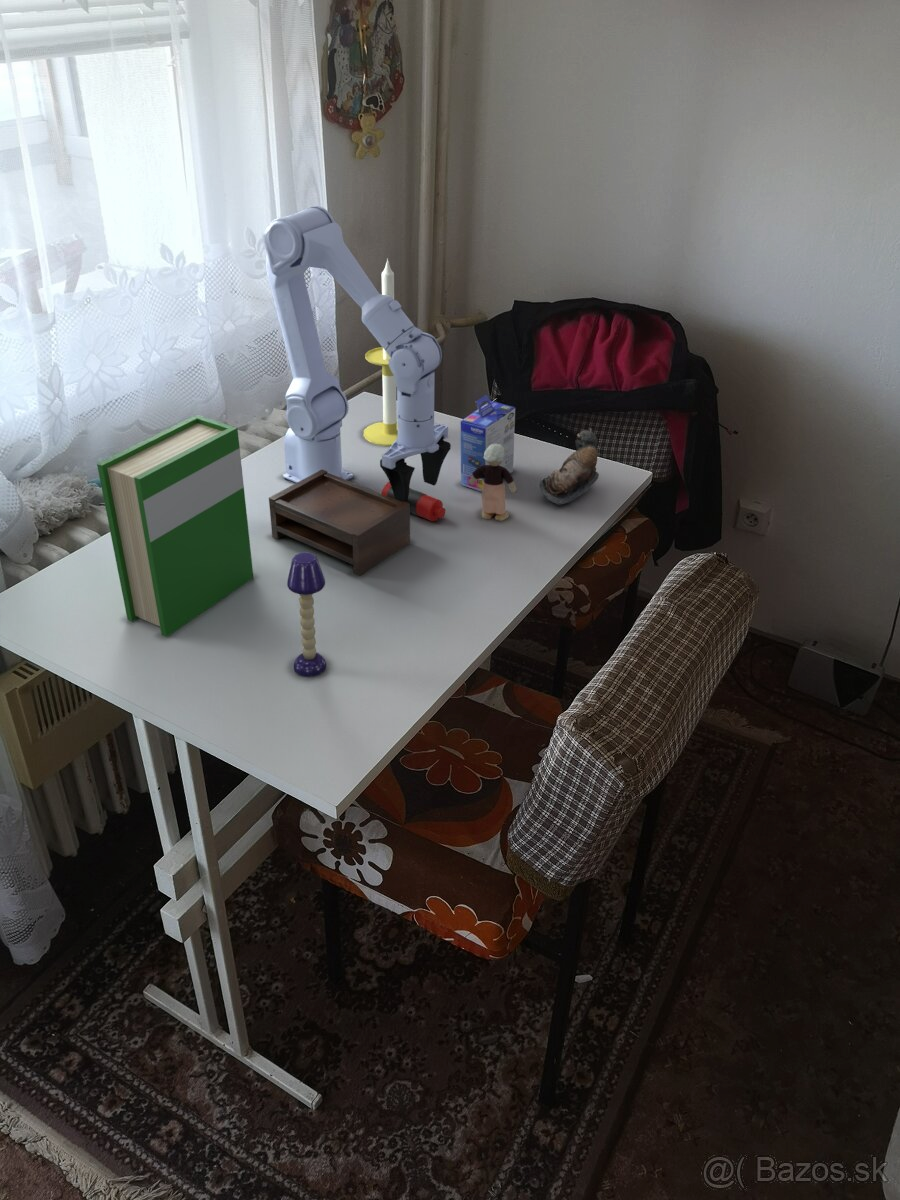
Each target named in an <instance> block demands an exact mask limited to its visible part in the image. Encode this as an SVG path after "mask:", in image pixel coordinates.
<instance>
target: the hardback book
mask: <svg viewBox="0 0 900 1200" xmlns="http://www.w3.org/2000/svg"><path fill="white" fill-rule="evenodd" d="M96 466H97V471H98V476H99V477H98V478H99V482H100V486H101V492H102V496H103V497H102V498H103V502H104V507H105V513H106V517H107V522H108V528H109V532H110V538H111V542H112V547H113V553H114V557H115V564H116V567H117V573H118V579H119V583H120V588H121V593H122V599H123V604H124V608H125V615H126V619H127V620H128V621H130V622H132V623H133V622H134V621H136V620H137V619H142V620H145V621H147V622H149V623H151V624H153V625H155V626H158V627H159V628H160V634H161V636H162V637H165V638H168V637H169V636H171V635H172V634H173V633H175V632H177V631H178V630H180V629H181V628H183V627H184V626H186V625H187V624H189V622H191V621H192V620H194V619H196V618H197V617H199V616H200V615H201V614H203V613H204V612H205V611H207V610H208V609H210V608H211V607H213V606H215V605H216V604H217V603H219V602H221V601H222V600H223V599H225V598H226V597H228V596H229V595H230V594H232V593H233V592H234V591H236V590H238V589H239V588H240V587H242V586H243V585H245V584H247V583H248V582H249V581H251V580H252V579H254V570H253V560H252V559H253V558H252V550H251V541H250V533H249V522H248V513H247V503H246V495H245V494H246V493H245V485H244V476H243V475H244V474H243V467H242V456H241V448H240V437H239V429H238V427H236V426H233V425H230V424H227V423H224V422H221V421H219V420H218V421H217V420H214V419H211V418H208V417H206V416H202V415H199V414H195V415H193V416H190V417H189V418H187V419H185V420H183V421H180V422H179V423H176V424H174V425H173V426H170V427H168V428H166V429H164V430H162V431H160V432H158V433H156V434H154V435H151V436H149V437H148V438H146V439H144V440H142V441H140V442H138V443H136V444H134V445H132V446H130V447H128V448H126V449H124V450H122V451H119V452H118V453H116V454H114V455H111V456H110V457H108V458H105V459H103V460H101V461H99V462H97V463H96Z"/></svg>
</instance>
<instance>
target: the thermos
mask: <svg viewBox="0 0 900 1200" xmlns="http://www.w3.org/2000/svg"><path fill="white" fill-rule="evenodd" d="M380 493H381V494H383V495H386V496H388V497H391V498H393V499H395V497H394V493H393V490H392V487H391V484H390V482H389V481H388V482H386V483H385V484H384V486H383V487H382V490H381V492H380ZM406 503H409V504H410V514H411V515H414V516H417V517H420V518H423V519H426V520H428V521H430V522H436V521H437V520H438V519H443V518H444V517H445V515H446V511H447V509H446V508H445V507H444V503H443V501H442V500H441V499H439V498H436V497H433V496H431V495H428V494H427V493H423V492H421V491H418V490H416V489H413V488H411V487H409V498H408V501H407V502H406Z"/></svg>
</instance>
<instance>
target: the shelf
mask: <svg viewBox="0 0 900 1200" xmlns="http://www.w3.org/2000/svg"><path fill="white" fill-rule="evenodd" d="M381 493H382V492H378V491H377V490H373V489H371V488H368V487H366V486H362V485H360V484H358V483H355V482H353V481H350V480H349V479H348V480H345V479H343V478H340V477H337V476H335V475H332V474H330V473H328V472H327V471H325V470H323V469H322V470H320V471H318V472H316V473H314V474H312V475H310V476H309V477H307V478H305V479H303V480H301V481H299V482H297V483H296V482H294V484H292V485H290V486H288V487H286V488H284V489H282V490H281V491H279V492H277V493H275V494H273V495H271V496H269V497H268V505H269V517H270V528H271V537H272V538H273V539H276V540H279V539H281V538H283V537H284V536H287V537H290V538H292V539H294V540H296V541H299V542H301V543H303V544H305V545H308V546H309V547H312V548H314V549H316V550H319V551H321V552H323V553H325V554H328V555H329V556H332V557H335V558H336V559H339V560H341V561H344V562H345V563H348V564H351V565H353V574H354V575H356V576H359V577H361V576H362V575H364V574H365V573H367V572H369V571H370V570H372V569H373V568H374V567H377V565H379V564H380V563H381V562H384V561H385V560H386V559H388V558H389V557H391V556H393V555H394V554H396V553H397V552H399V551H400V550H402V549H404V548H405V547H406V546H407V545H409V544H410V543H411V513H410V504H409V503H406V502H401V501H398V500H396V499H393V498H391V497H388V496H386V495H383V494H381Z"/></svg>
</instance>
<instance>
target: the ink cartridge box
mask: <svg viewBox="0 0 900 1200" xmlns="http://www.w3.org/2000/svg"><path fill="white" fill-rule="evenodd" d="M484 402H486V403H485V404H483V403H484ZM482 404H483V405H482ZM475 405H476V407H477V409H476V410H474V411H473V412H472V413H470V414H469V415H467V416H466V417H464V418H463V419H461V420H460V485H461V486H463V487H466V488H468V489H472V490H474V491H478V492H481V493H482V489H483V482H484V479H485V478H481V479H477V480H476V482H475V484H473V485H472V484H470V483H469V480H470V479H471V477H472V475H473V474H472V473H473V472H474V471H475V470H476V469H477V468H479V467H480V466H483V465H490V464H489V463H488V462H487V461H486V460H485V459H484V458H483V457H484V452H485V450H486V449H487V448H488V447H489V446H490V445H492V444H495V443H496V444H500V445H502V447H504V452H505V453H504V458H503V461H502V463H501V464H500V466H502V467H504V468H506V469H507V470H508V471H509V473H510V474H511V473H513V471H514V459H515V458H514V455H515V454H514V453H515V427H516V426H515V425H516V407H515V406H512V405H507V404H504V403H501V402H497V401H493V400H490V398H489V396H488V395H487V394H485V395H484V396H482V397H481V398H479V399H478V400H476V401H475Z"/></svg>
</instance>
